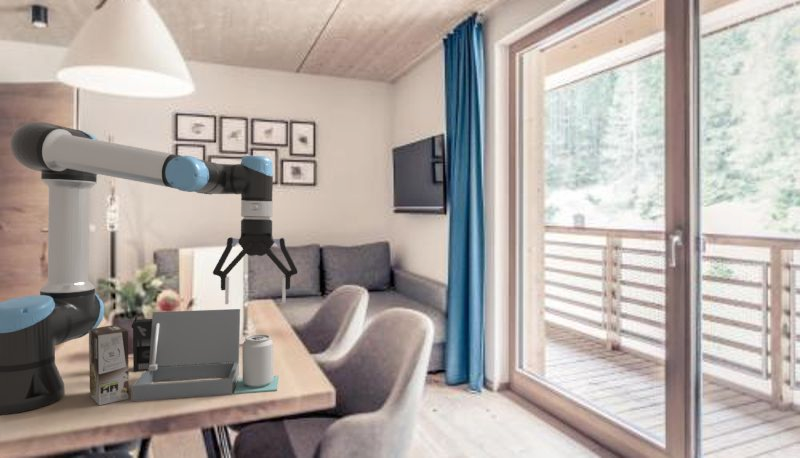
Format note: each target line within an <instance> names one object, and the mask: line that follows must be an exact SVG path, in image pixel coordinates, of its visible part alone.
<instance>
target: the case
mask: <svg viewBox="0 0 800 458" xmlns="http://www.w3.org/2000/svg"><path fill="white" fill-rule="evenodd" d="M151 319H152V331H151V346H150V362H149V368H148V369H147V370H146V371H144V372H143V374H142V375H140V377H138V379H137V380H136V381H134V383H133V384H132V385H131V402H139V401H140V402H141V401H153V400H168V399H170V400H171V399H182V398H183V399H184V398H196V397H197V398H198V397H208V396H209V397H211V396H222V395H224V396H225V395H232V394H234V391H235V388H236V385H237V382H238V379H239V374H240V365H239V364H240V340H241V339H240V333H241V332H240V331H241V328H240V327H241V309H240V308H236V309H235V308H232V309H205V310H204V309H202V310H201V309H200V310H179V311H176V310H175V311H153V312H152V317H151ZM210 363H211V364H210ZM158 366H159V367H158ZM227 377H228V378H227ZM211 378H213V379H211ZM215 378H216V379H215ZM195 379H196V380H195ZM198 379H201V380H198ZM180 380H182V381H180ZM183 380H185V381H183ZM186 380H187V381H186ZM163 381H164V382H163ZM165 381H166V382H165ZM167 381H168V382H167ZM169 381H172V382H169ZM153 382H154V383H153ZM155 382H157V383H155Z"/></svg>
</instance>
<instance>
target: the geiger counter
mask: <svg viewBox="0 0 800 458" xmlns="http://www.w3.org/2000/svg"><path fill="white" fill-rule="evenodd" d="M131 328H132V344H133V345H132V349H133V352H132V357H133V358H132V362H133V363H132V364H133V372H134V373H136V372H146V370H147V369H148V368H149V362H150V346H151V331H152V318H144V319H142V318H141V319H139V318H138V314H136V315H135V316H134V320H133V321H132V324H131ZM158 367H159V366H158Z"/></svg>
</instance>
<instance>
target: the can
mask: <svg viewBox="0 0 800 458" xmlns="http://www.w3.org/2000/svg"><path fill="white" fill-rule="evenodd" d="M241 348H242V349H241V350H242V354H241V355H242V378H243V383H244V384H245V385H246V386H248V387H252V388H258V387H264V386H267V385H269V384H270V382H271V381H272V380H273V376H274V341H273V340H272V339H271V335H270V334H263V333H260V334H259V333H258V334H251V335H247V336H246V337H245V338H244V341H243V342H242V347H241Z"/></svg>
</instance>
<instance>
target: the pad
mask: <svg viewBox="0 0 800 458" xmlns="http://www.w3.org/2000/svg"><path fill="white" fill-rule="evenodd" d="M278 384H279V375H273V380H272V381H271V382H270V384H269V385H267V386H264V387H258V388H252V387H248V386H246V385H245V384H244V383H243V377H238V379H237V382H236V384H235V387H234V390H233V394H234V395H235V394H237V395H239V394H251V393H265V392H266V393H268V392H276V391H278V387H279V386H278Z"/></svg>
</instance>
